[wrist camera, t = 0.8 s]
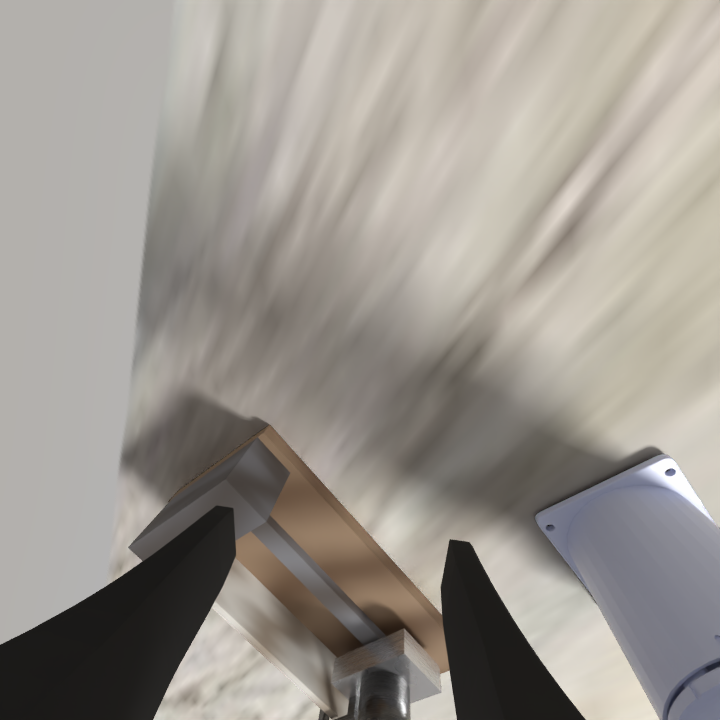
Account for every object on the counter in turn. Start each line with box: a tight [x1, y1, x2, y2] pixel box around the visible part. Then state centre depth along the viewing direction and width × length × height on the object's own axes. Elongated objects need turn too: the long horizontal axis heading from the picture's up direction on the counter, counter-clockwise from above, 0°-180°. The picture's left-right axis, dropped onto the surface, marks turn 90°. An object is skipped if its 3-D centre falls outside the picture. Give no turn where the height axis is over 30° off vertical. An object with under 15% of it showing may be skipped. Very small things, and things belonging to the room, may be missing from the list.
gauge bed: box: [128, 425, 450, 720], centre depth 22 cm, size 22×9×5 cm, turn 39°
